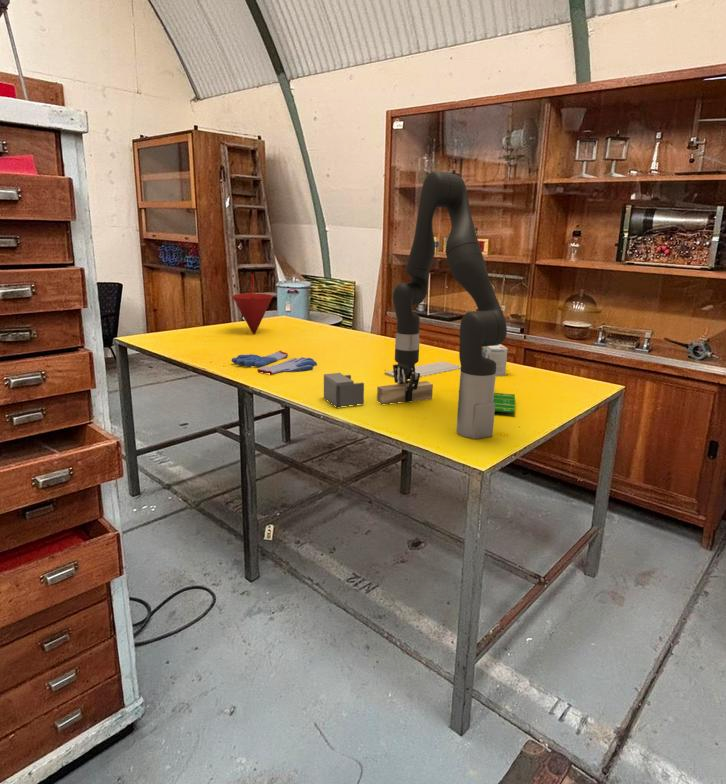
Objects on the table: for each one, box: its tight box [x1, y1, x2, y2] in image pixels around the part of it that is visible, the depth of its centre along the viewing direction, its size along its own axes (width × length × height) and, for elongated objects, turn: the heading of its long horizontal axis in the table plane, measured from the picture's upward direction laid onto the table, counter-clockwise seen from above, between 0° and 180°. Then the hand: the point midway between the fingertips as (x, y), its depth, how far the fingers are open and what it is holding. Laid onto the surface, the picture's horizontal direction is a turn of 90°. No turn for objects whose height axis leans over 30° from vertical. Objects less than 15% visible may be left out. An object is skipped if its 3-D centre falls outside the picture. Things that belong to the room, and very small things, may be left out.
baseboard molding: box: [384, 360, 461, 381], centre depth 220 cm, size 31×3×12 cm
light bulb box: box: [482, 343, 509, 377], centre depth 219 cm, size 11×7×11 cm, turn 5°
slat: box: [376, 380, 434, 405], centre depth 184 cm, size 4×18×5 cm, turn 115°
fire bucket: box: [231, 273, 274, 335], centre depth 280 cm, size 22×20×30 cm
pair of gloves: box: [231, 350, 318, 376], centre depth 226 cm, size 32×26×4 cm
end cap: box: [323, 372, 365, 408], centre depth 180 cm, size 11×9×8 cm
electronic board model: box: [493, 392, 516, 414], centre depth 185 cm, size 30×7×15 cm
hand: (404, 399), depth 184 cm, fingers closed on slat, 4 cm apart
